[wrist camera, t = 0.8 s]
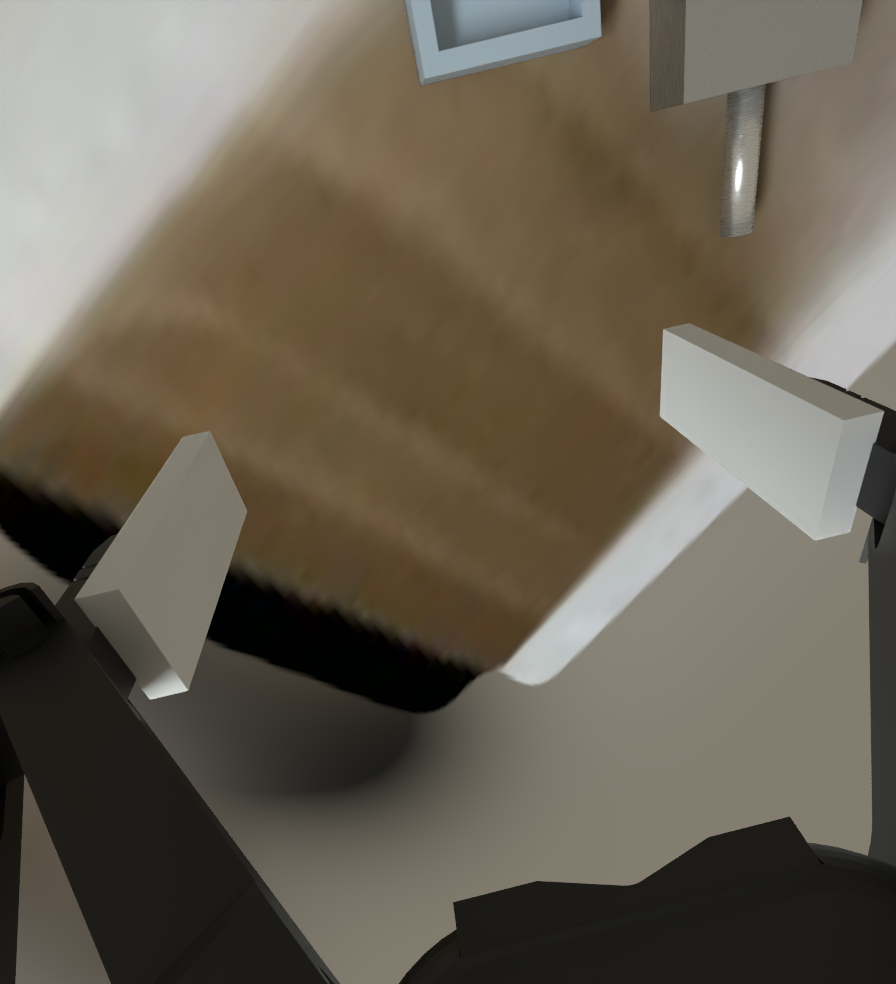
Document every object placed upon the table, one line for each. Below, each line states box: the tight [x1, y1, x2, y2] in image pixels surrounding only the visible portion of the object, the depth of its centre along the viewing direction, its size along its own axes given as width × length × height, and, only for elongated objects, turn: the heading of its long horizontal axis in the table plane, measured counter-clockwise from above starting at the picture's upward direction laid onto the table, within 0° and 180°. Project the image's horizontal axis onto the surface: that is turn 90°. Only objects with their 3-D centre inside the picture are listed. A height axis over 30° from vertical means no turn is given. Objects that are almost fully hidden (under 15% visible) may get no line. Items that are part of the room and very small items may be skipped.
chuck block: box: [650, 0, 863, 237], centre depth 30 cm, size 22×10×4 cm, turn 12°
